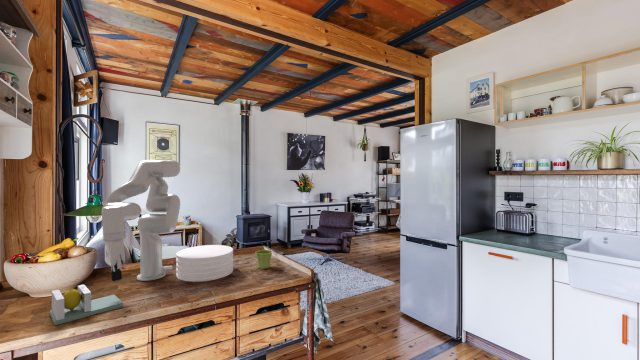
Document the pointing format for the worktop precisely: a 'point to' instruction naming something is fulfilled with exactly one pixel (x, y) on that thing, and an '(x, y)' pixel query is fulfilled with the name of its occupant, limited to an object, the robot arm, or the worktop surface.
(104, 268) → the worktop surface
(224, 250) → the plate stack
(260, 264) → the plant pot
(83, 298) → the vise jaw
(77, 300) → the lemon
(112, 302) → the vise base
